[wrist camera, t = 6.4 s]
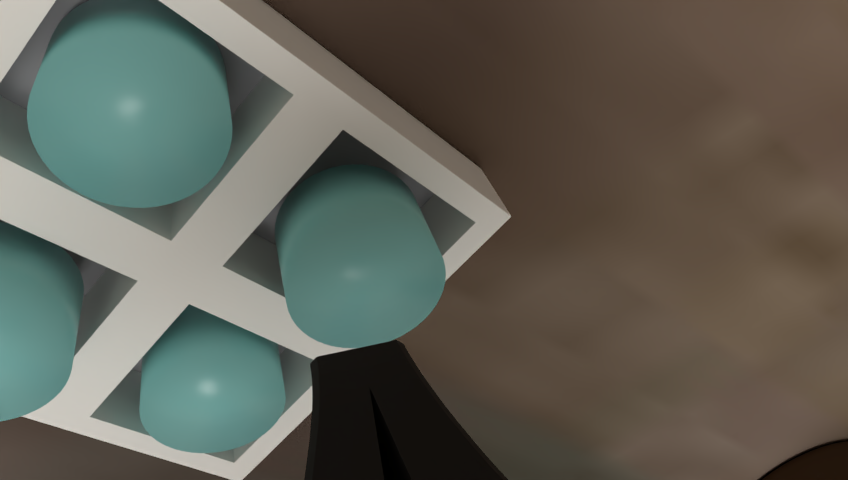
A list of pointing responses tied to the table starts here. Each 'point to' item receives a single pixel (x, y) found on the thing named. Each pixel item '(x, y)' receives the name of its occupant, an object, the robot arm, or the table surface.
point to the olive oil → (816, 465)
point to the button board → (218, 213)
